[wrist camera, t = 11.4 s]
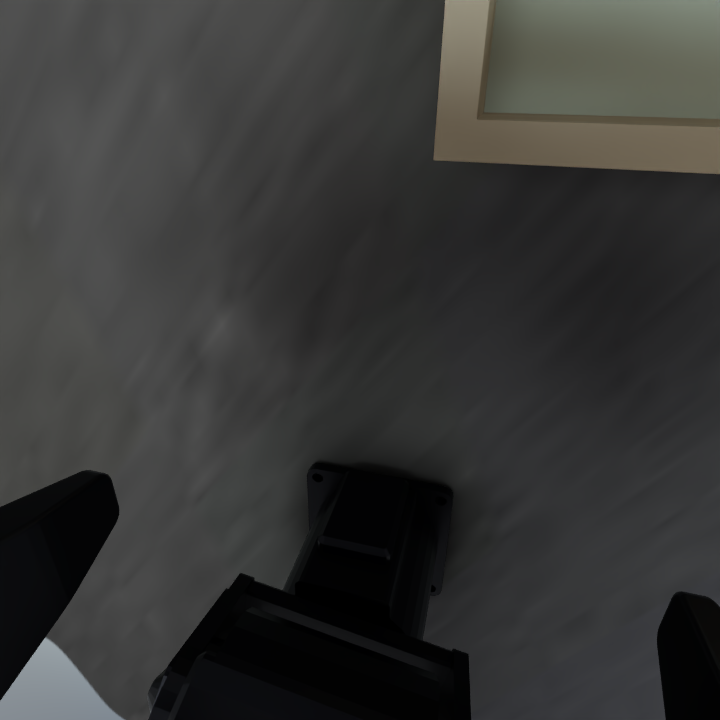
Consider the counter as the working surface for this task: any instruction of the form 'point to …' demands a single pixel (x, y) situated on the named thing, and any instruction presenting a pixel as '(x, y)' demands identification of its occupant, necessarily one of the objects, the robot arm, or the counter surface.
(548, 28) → the box
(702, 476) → the counter surface
